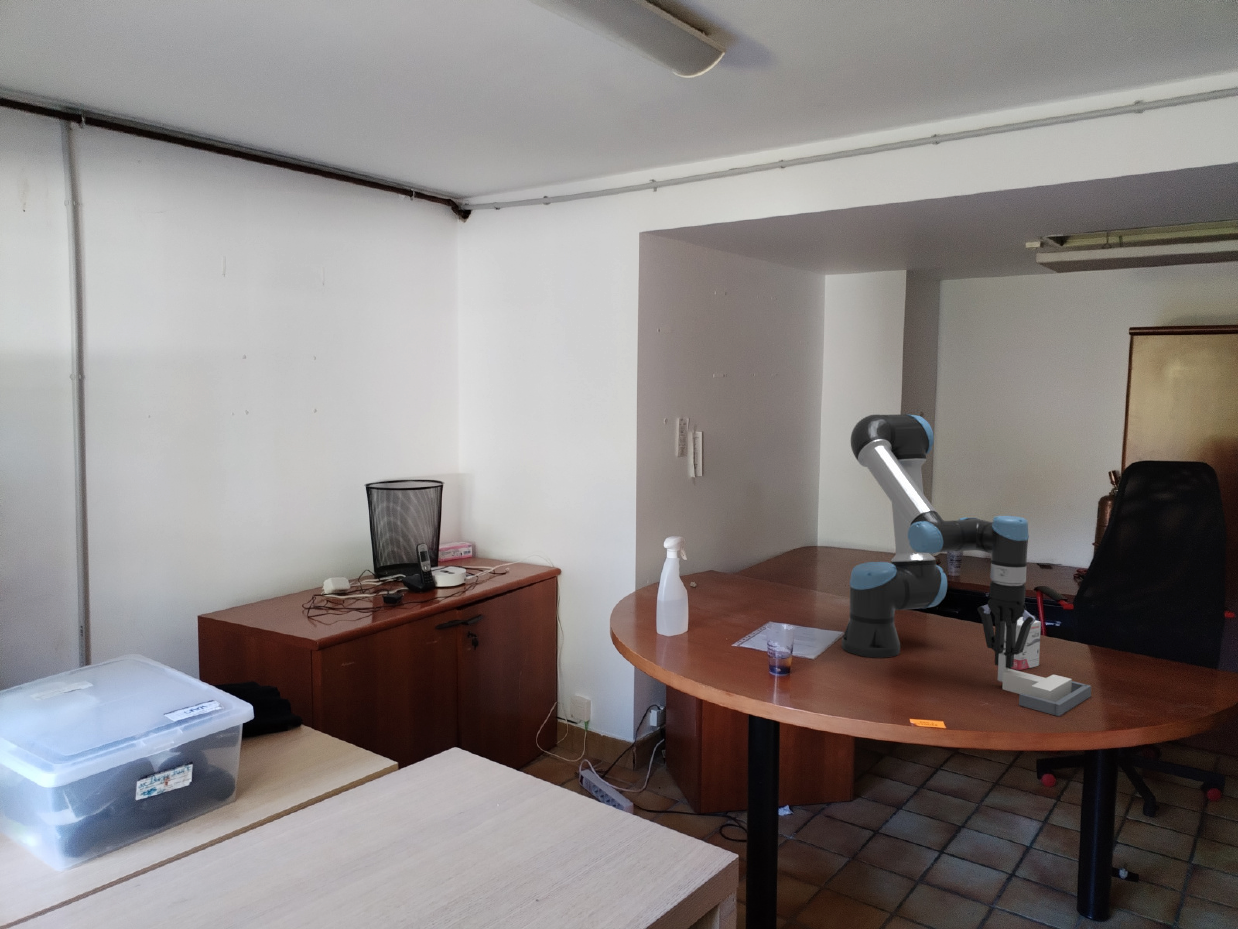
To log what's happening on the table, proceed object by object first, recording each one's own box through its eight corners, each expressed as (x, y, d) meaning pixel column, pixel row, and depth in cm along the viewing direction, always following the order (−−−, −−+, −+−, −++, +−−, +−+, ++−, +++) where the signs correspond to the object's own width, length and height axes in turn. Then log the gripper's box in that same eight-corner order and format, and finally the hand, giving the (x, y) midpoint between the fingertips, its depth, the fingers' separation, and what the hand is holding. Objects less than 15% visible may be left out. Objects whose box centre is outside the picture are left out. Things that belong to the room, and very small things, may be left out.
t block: (994, 693, 183) (995, 676, 182) (1017, 681, 190) (1017, 665, 190) (1049, 708, 173) (1050, 691, 173) (1070, 696, 181) (1071, 679, 181)
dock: (1018, 705, 175) (1019, 694, 175) (1052, 686, 187) (1052, 676, 187) (1058, 716, 169) (1059, 705, 169) (1090, 696, 181) (1091, 685, 181)
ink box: (1018, 671, 198) (1020, 625, 197) (1000, 665, 202) (1002, 620, 201) (1039, 666, 202) (1042, 620, 201) (1022, 660, 206) (1024, 616, 205)
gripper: (972, 579, 187) (968, 676, 189) (1029, 589, 178) (1024, 691, 179) (987, 575, 192) (983, 669, 194) (1043, 585, 182) (1038, 684, 184)
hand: (1003, 680), depth 187 cm, fingers closed
